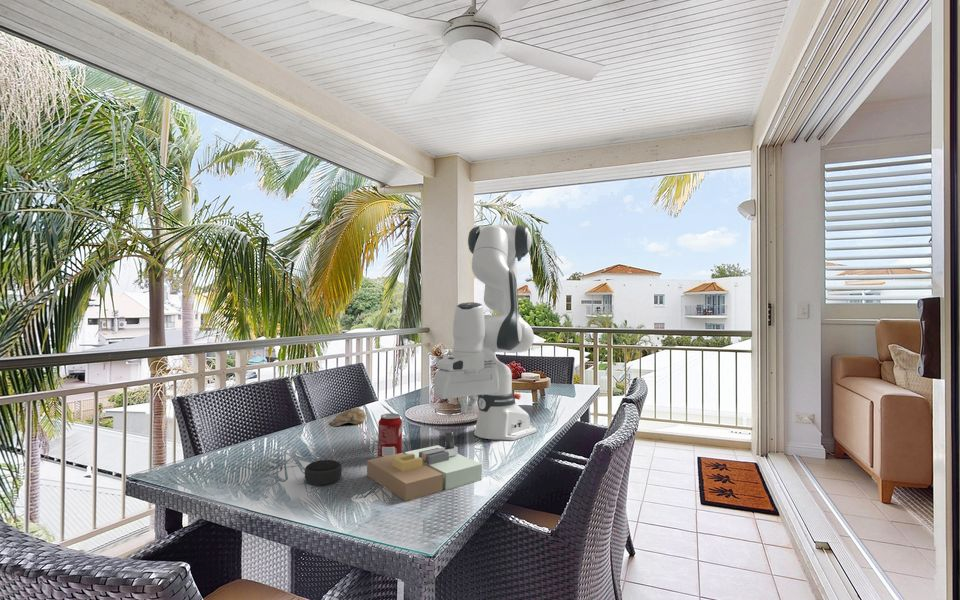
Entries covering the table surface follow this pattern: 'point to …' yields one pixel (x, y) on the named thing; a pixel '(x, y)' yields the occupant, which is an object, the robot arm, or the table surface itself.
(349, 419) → the oyster shell
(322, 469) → the smart speaker
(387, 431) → the soda can
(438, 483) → the door and jamb
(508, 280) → the robot arm
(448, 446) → the bolt
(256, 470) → the table surface
